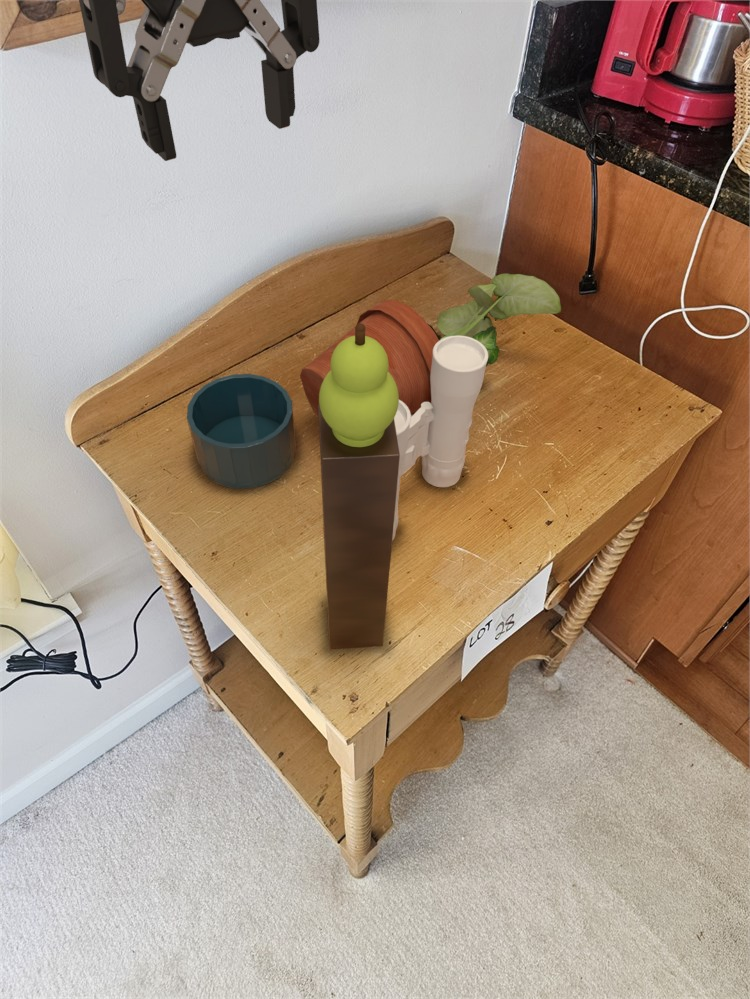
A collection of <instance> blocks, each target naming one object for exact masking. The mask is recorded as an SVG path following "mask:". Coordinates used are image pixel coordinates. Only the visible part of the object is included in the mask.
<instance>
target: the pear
mask: <svg viewBox="0 0 750 999" xmlns="http://www.w3.org/2000/svg"><path fill="white" fill-rule="evenodd" d="M355 326H356V327H355ZM355 326H354V327H355V336H351V337H348V338H346V339H345V340H343V341H342V342H340V343H339V344H338V346H337V347H336V348H335V350H334V352H333V354H332V357H331V371H330V372H329V373H328V374H327V375H326V377H325V378H324V380H323V383H322V385H321V388H320V393H319V404H320V409H321V412H322V415H323V417H324V419H325V421H326V422H327V423H328V425H329V426H330V427H331V428H332V431H333V434H334V436H335V437H336V438H337V439H338V440H339V441H340V442H341V443H343V444H345V445H348V446H352V447H366V446H370V445H372V444H374V443H376V442H377V441H379V440H380V439H381V437H382V436H383V434H384V431H385V429H386V428H387V427H388V426H389V425H390V423H391V422H392V421H393V419H394V417H395V415H396V412H397V409H398V403H399V395H398V389H397V386H396V383H395V381H394V379H393V377H392V376H391V374H390V373H389V372H388V367H389V364H388V357H387V354H386V352H385V350H384V348H383V347H382V346H381V345H380V344H379V343H378V342H377V341H376V340H374V339H373V338H370V337H367V336H365V326H364V325H363V324H361V323H359V324H357V323H356V325H355Z"/></svg>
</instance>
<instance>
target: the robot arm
mask: <svg viewBox="0 0 750 999" xmlns="http://www.w3.org/2000/svg"><path fill="white" fill-rule="evenodd" d="M140 1H141V2H142V3H143V4H144V5H145V6H144V9H143V12H142V15H141V17H140V19H139V22H138V25H137V27H136V30H135V33H134V34H135V35H134V39H135V40H134V41H135V45H134V48H133V51H132V53H131V56H130V59H129V60H128V64H127V60H126V55H125V48H124V41H123V36H122V30H121V24H120V18H119V16H121V15H122V14H123V13H124V11H125V10H126V3H127V2H126V0H78V2H79V7H80V12H81V18H82V23H83V27H84V32H85V36H86V42H87V46H88V52H89V57H90V61H91V62H90V63H91V66H92V71H93V72H92V73H93V76H94V77H95V78H96V80H97V81H98V82H100V84H102V85H104V86H105V87H106V88H107V89H108V91H109V92H110V93H111V94H112V95H113V96H115V97H117V98H124V97H125V96H127V97H132V99H133V103H134V108H135V114H136V117H137V122H138V126H139V131H140V135H141V139H142V140H143V142H144V143H145V145H146V146H147V147H148V148H149V149H150V150H151V151H152V152H153V153H155V154H156V155H158V156H159V157H160V158H161V159H162V160H163V161H165V162H168V161H171V160H176V158H177V150H176V146H175V140H174V135H173V130H172V124H171V120H170V114H169V109H168V103H167V100H166V99H165V97H163V95H161V94H162V91H163V89H164V87H165V85H166V82H167V79H168V77H169V74H170V72H171V70H172V68H174V67H176V66H177V65H178V63H179V61H180V59H181V57H182V54H183V51H184V49H185V47H186V45H187V44H189V45H190V46H191V47H193V48H196V47H201V46H205V45H208V43H211V42H213V41H215V39H223V40H233V39H237V38H241V33H242V31H244V32H246V33H247V34H248V35H249V37H250V38H251V39H252V41H253V42H254V43H255V44H256V45H257V48H259V50H260V51H261V52H262V53H263V54H264V56H265V59H262V60H260V61H261V62H260V63H261V64H260V65H261V75H262V88H263V98H264V109H265V116H266V118H267V121H268V122H270V123H271V124H272V125H273V126H275V127H276V128H278V130H280V129H281V130H282V129H285V128H288V127H290V126H291V117H294V115H295V111H296V94H295V76H294V75H295V74H294V66H295V65H296V62H297V60H298V59H299V58H300V57H301V56H302V55H303V54H305V53H306V52H308V53H314V52H315V51H316V50H317V49H318V48H319V46H320V27H319V15H318V14H319V13H318V0H280V2H281V12H282V20H283V21H282V22H283V29H282V30H281V28H280V25H279V24H278V23H277V21H276V20H275V19H274V17H273V16H272V14H271V13H270V12H269V10H268V9H267V8H266V6H265V5H264V4H263V2H262V1H261V0H140Z"/></svg>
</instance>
